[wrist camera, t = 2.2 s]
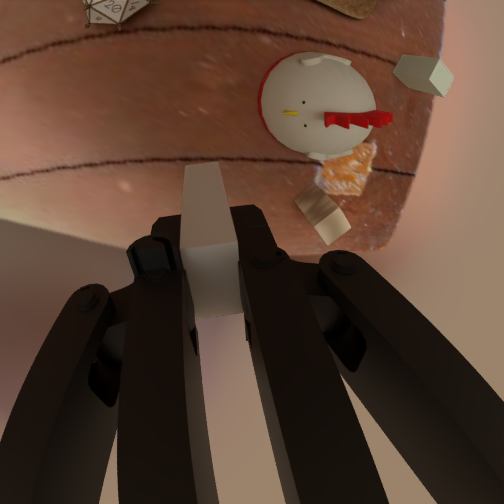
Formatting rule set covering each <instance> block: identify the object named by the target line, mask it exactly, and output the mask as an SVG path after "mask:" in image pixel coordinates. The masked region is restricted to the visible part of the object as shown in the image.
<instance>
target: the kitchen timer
mask: <svg viewBox="0 0 504 504" xmlns="http://www.w3.org/2000/svg"><path fill="white" fill-rule="evenodd" d="M350 64H351V61H350V60H347V59H344V58H341V57H337V56H334V55H331V54H326V53H319V52H302V53H296V54H291V55H289V56H287V57H285V58H283V59H281V60H279V61H277V62H276V63H275V64H274V65H273V66H272V67H271V68H270V69H269V70H268V71H267V73H266V75H265V77H264V79H263V81H262V82H261V84H260V90H259V95H258V105H259V114H260V116H261V118H262V121H263V123H264V125H265V127H266V129H267V130H268V131H269V132H270V133H271V135H272V136H273V137H274V138H275V139H276V140H278V141H279V142H281V143H282V144H284V145H285V146H287V147H288V148H290V149H292V150H295V151H298V152H301V153H304V154H306V156H307V157H309V158H313V159H317V160H327V159H329V158H335V157H341V156H347V155H351V154H353V150H352V148H354V147H355V146H357V145H359V144H360V143H361V142H362V141H363V140H364V139H365V138H366V137H367V136H368V135H369V133H370V131H371V129H372V127H373V126H374V127H378V128H382V124H384V125H388V123H389V122H393V114H392V113H388V112H383V111H378V110H376V104H375V100H374V97H373V93H372V91H371V89H370V87H369V86H368V84H367V82H366V81H365V79H364V78H363V77H362V76H361V75H360V74H359V73H358V72H357V71H356V70H355V69H354V68H352V67H351V66H350Z"/></svg>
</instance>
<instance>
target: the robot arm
mask: <svg viewBox="0 0 504 504" xmlns="http://www.w3.org/2000/svg"><path fill="white" fill-rule="evenodd" d="M126 253H127V256H128V259H129V262H130V265H131V268H132V270H133V273H134V276H135V278H134V282H133V283H132V284H130V285H129V286H127V287H124V288H122V289H119V290H117V291H114V292H111V293H109V291H108V289H107V288H105V287H104V286H103V285H100V284H89V285H86V286H83V287H81V288H80V289H78V290H77V291H75V292H74V293H73V294H72V295H71V297H70V298H69V299H68V301H67V302H66V304H65V306H64V307H63V309H62V311H61V313H60V314H59V316H58V318H57V319H56V321H55V323H54V325H53V326H52V328H51V330H50V332H49V333H48V336H47V337H46V339H45V341H44V343H43V345H42V346H41V348H40V350H39V352H38V354H37V356H36V358H35V360H34V362H33V365H32V366H31V369H30V370H29V372H28V375H27V377H26V379H25V381H24V383H23V385H22V388H21V390H20V392H19V394H18V397H17V399H16V402H15V404H14V407H13V409H12V411H11V414H10V416H9V419H8V422H7V424H6V427H5V430H4V433H3V435H2V438H1V441H0V504H99V500H100V496H101V491H102V486H103V482H104V478H105V473H106V469H107V465H108V461H109V457H110V453H111V449H112V446H113V442H114V438H115V434H116V431H117V430H118V431H117V475H118V476H117V477H118V497H119V504H219V501H218V494H217V489H216V483H215V477H214V471H213V464H212V458H211V451H210V444H209V437H208V430H207V421H206V413H205V404H204V395H203V387H202V376H201V365H200V355H199V342H198V332H197V328H196V324H195V317H196V319H202V318H210V317H218V316H225V315H231V314H238V313H243V312H244V319H245V333H246V341H248V343H249V347H250V352H251V357H252V361H253V366H254V371H255V375H256V379H257V384H258V389H259V393H260V397H261V402H262V406H263V411H264V415H265V420H266V424H267V428H268V432H269V437H270V441H271V445H272V449H273V453H274V458H275V462H276V466H277V470H278V474H279V478H280V482H281V486H282V490H283V494H284V498H285V502H286V504H389V502H388V499H387V496H386V493H385V490H384V488H383V485H382V482H381V479H380V477H379V474H378V471H377V468H376V465H375V463H374V460H373V457H372V455H371V452H370V449H369V447H368V444H367V441H366V439H365V436H364V433H363V431H362V428H361V426H360V423H359V421H358V418H357V415H356V413H355V410H354V408H353V405H352V403H351V400H350V398H349V396H348V393H347V390H346V388H345V385H344V383H343V381H342V378H341V375H342V376H343V378H344V379H345V381H346V382H347V383H348V385H349V386H350V387H351V389H352V390H353V392H354V393H355V394H356V395H357V397H358V398H359V400H360V401H361V402H362V403H363V405H364V406H365V408H366V409H367V410H368V412H369V413H370V414H371V416H372V417H373V418H374V419H375V421H376V422H377V424H378V425H379V426H380V427H381V429H382V430H383V432H384V433H385V434H386V436H387V437H388V438H389V440H390V441H391V442H392V444H393V445H394V446H395V448H396V449H397V450H398V452H399V453H400V454H401V456H402V457H403V458H404V460H405V461H406V462H407V464H408V465H409V466H410V468H411V469H412V470H413V472H414V473H415V474H416V476H417V477H418V478H419V480H420V481H421V482H422V484H423V485H424V486H425V488H426V489H427V490H428V492H429V493H430V494H431V496H432V497H433V498H434V500H435V501H436V502H437V504H504V402H503V400H502V399H501V398H500V397H499V396H498V395H497V393H496V392H495V391H494V390H493V389H492V388H491V386H490V385H489V384H488V383H487V382H486V381H485V380H484V378H483V377H482V376H481V375H480V374H479V373H478V372H477V371H476V369H474V367H473V366H472V365H471V364H470V363H469V362H468V361H467V360H466V359H465V358H464V356H463V355H462V354H461V353H460V352H459V351H458V350H457V349H456V348H455V347H454V346H453V345H452V344H451V343H450V342H449V341H448V340H447V339H446V338H445V336H443V335H442V334H441V332H440V331H439V330H437V328H436V327H435V326H434V325H433V324H432V323H431V322H430V321H429V320H428V319H427V318H426V317H425V316H424V315H423V314H422V313H420V311H418V310H417V309H416V308H415V307H414V306H413V305H412V304H411V303H410V302H409V301H408V300H407V299H406V298H405V297H404V296H403V295H402V294H401V293H400V292H399V291H398V290H396V289H395V288H394V287H393V286H392V285H391V284H390V283H389V282H388V281H387V280H386V279H384V278H383V277H382V276H381V275H380V274H379V273H378V272H377V271H376V270H375V269H374V268H372V267H371V266H370V265H369V264H368V263H367V262H366V261H365V260H363V259H362V258H361V257H359V256H358V255H356V254H355V253H352V252H349V251H344V250H335V251H329V252H327V253H325V254H324V255H323V256H322V257H321V258H320V260H319V264H315V263H303V262H297V261H294V260H291V259H290V257H289V256H288V254H287V253H286V252H285V251H284V250H282V249H281V248H279V247H277V244H276V242H275V240H274V237H273V235H272V233H271V230H270V228H269V226H268V224H267V221H266V219H265V217H264V214H263V212H262V210H261V209H259V208H258V207H256V206H255V205H253V204H252V205H243V206H235V207H229V204H228V200H227V196H226V192H225V188H224V184H223V179H222V175H221V171H220V167H219V163H218V161H217V162H208V163H200V164H192V165H185V173H184V185H183V198H182V213H181V214H180V215H173V216H166V217H159V218H158V220H157V221H156V222H155V223H154V224H153V225H152V230H151V235H148V236H144V237H142V238H140V239H138V240H136V241H135V242H133V243H132V244H131V245H130V246H129V248H128V249H127V251H126ZM194 313H195V314H194ZM340 374H341V375H340ZM117 427H118V428H117Z"/></svg>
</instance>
